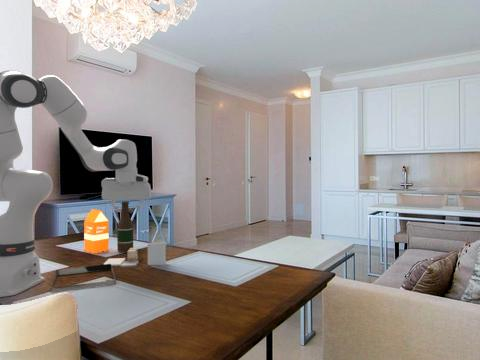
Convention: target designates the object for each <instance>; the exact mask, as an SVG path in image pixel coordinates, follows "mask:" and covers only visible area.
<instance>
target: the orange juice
mask: <svg viewBox="0 0 480 360" xmlns="http://www.w3.org/2000/svg"><path fill="white" fill-rule="evenodd" d="M83 222H84V223H83V226H84V227H83V228H84V229H83V232H84V233H83V235H84V237H83V239H84V240H83V243H84V252H87V253H90V252H91V254H94V253H95V254H99V253H103V252H102V251H104V252H108V251H107V250H109V243H110V242H109V237H110V236H109V235H110V234H109V219H108V218H107V217H106V216H105V214H104V213H103V211H102V210H99V209H92V208H91V210H90V212H89V213H88V214H87V216H86V218H85V219H84V221H83ZM98 252H99V253H98Z"/></svg>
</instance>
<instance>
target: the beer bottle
mask: <svg viewBox="0 0 480 360" xmlns="http://www.w3.org/2000/svg"><path fill="white" fill-rule="evenodd" d="M120 204H121V216H120V219H119V221H118V223H117V230H116V232H117V235H116V236H117V241H116V243H117V244H116V245H117V252H118V251H119V252H118V253H122V252H123V253H127V251H128V250H129V249H130V248H134V224H133V220H132V219H131V216H130V208H129V204H130V202H129V201H127V200H122V201H121V202H120Z"/></svg>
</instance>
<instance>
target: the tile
mask: <svg viewBox="0 0 480 360" xmlns="http://www.w3.org/2000/svg"><path fill="white" fill-rule="evenodd" d="M166 251H167V250H166V241H164V242H163V241H161V242H160V241H159V242H156V241H155V242H148V243H147V266H166V265H167V264H166V263H167V262H166V259H167V258H166V254H167V253H166Z"/></svg>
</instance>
